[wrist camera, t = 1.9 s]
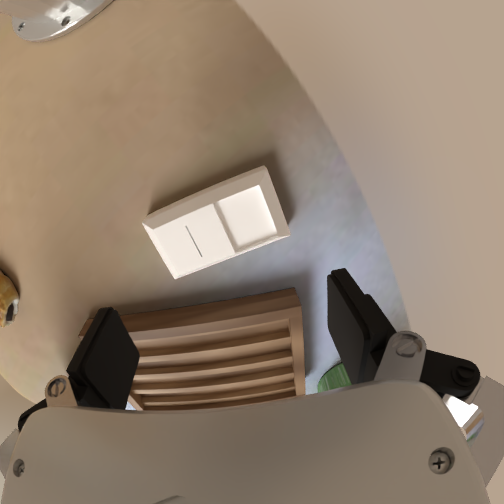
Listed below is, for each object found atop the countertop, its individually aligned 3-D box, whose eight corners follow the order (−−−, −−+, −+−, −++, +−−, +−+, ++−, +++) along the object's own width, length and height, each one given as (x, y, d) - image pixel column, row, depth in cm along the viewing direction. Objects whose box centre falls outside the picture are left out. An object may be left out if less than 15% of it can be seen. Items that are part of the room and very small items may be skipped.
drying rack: (87, 319, 22) (78, 336, 20) (294, 287, 22) (301, 305, 20) (143, 398, 29) (140, 414, 27) (301, 381, 29) (305, 397, 27)
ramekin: (327, 403, 33) (335, 428, 29) (301, 378, 29) (309, 408, 25) (384, 373, 31) (396, 397, 27) (370, 342, 27) (385, 370, 23)
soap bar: (148, 213, 19) (138, 227, 17) (263, 164, 18) (269, 171, 16) (178, 266, 21) (173, 285, 19) (285, 225, 20) (293, 240, 18)
